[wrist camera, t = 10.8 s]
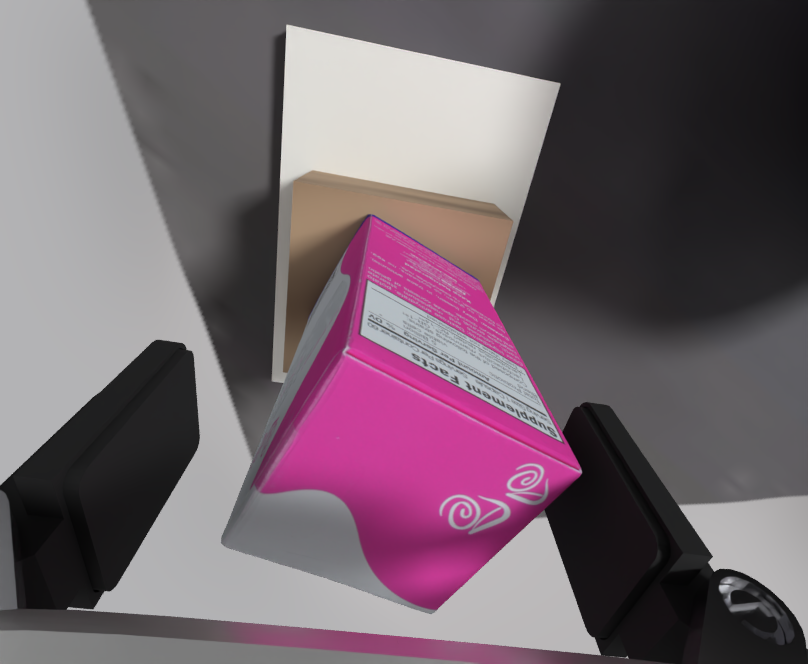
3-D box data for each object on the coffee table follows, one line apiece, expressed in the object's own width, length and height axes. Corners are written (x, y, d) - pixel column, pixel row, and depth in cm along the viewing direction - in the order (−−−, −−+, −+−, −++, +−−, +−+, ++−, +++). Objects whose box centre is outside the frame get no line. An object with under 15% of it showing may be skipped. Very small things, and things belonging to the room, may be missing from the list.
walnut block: (312, 170, 20) (293, 180, 16) (494, 203, 21) (513, 220, 17) (300, 334, 24) (282, 372, 20) (452, 357, 25) (461, 397, 21)
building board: (291, 28, 18) (286, 24, 17) (554, 84, 19) (560, 83, 18) (275, 374, 26) (271, 381, 25) (461, 400, 27) (463, 408, 26)
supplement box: (415, 375, 21) (429, 627, 10) (306, 317, 19) (198, 545, 9) (486, 280, 18) (595, 482, 8) (369, 207, 17) (322, 340, 7)
